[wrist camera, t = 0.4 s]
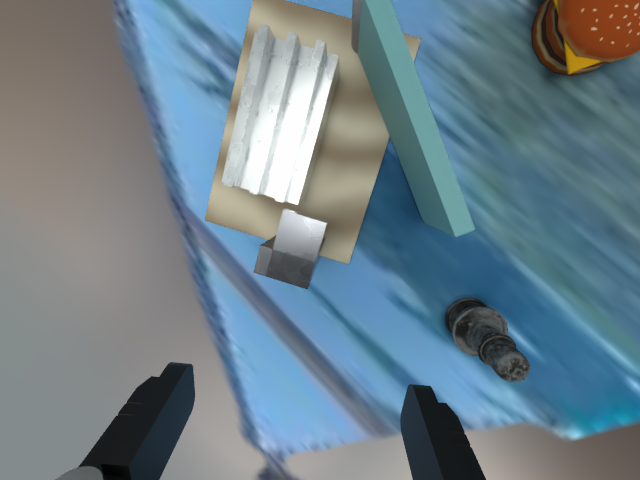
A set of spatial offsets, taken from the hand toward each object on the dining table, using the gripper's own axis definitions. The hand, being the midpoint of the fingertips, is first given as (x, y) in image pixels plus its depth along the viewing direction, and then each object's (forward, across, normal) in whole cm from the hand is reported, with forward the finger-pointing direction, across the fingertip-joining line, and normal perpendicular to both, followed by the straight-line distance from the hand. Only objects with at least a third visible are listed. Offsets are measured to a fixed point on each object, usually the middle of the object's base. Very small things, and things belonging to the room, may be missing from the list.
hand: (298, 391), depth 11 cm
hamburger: (+29, -25, -21) cm, 43 cm away
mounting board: (+28, +2, -8) cm, 30 cm away
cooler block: (+26, +3, -6) cm, 27 cm away
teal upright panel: (+26, -7, -10) cm, 29 cm away
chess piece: (+24, -20, +11) cm, 32 cm away
